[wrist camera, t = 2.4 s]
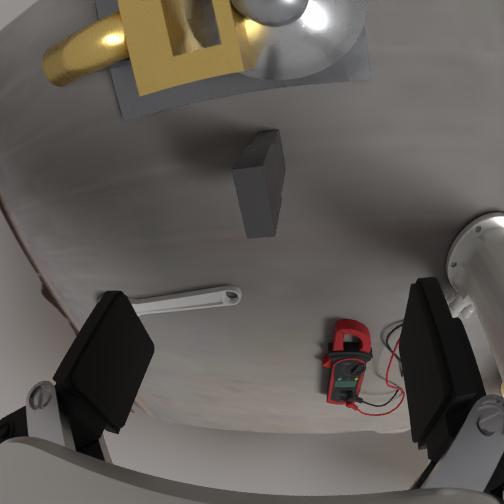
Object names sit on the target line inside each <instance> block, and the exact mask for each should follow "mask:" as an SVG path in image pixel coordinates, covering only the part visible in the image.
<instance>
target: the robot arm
mask: <svg viewBox="0 0 504 504" xmlns="http://www.w3.org/2000/svg"><path fill="white" fill-rule="evenodd" d="M446 272H447V276H448V279H449V281H450V283H451V285H452V287H453V288H454V289H455V290H456V291H457V292H456V294H455V299H454V301H453V302H452V303H450V304H449V305H448V304H447V302H446V299H445V297H444V295H443V292H442V290H441V287H440V285H439V283H438V280H437V279H436V277H428V278H418V279H417V281H416V283H415V284H411V287H410V292H409V298H408V303H407V308H406V313H405V317H404V322H403V326H402V331H401V335H400V339H399V353H400V358H401V364H402V370H403V375H404V381H405V388H406V394H407V401H408V409H409V416H410V425H411V433H412V440H413V442H414V443H416V442H418V449H419V450H420V449H426V448H427V450H428V458H429V459H430V461H429V462H428V464H427V465H426V466H425V468H424V469H423V471H422V472H421V474H420V475H419V476H418V478H417V479H416V480H415V482H414V483H413V485H412V486H411V487H410V488H409V490H404V491H393V492H383V493H373V494H360V495H338V496H286V495H269V494H257V493H246V492H237V491H229V490H221V489H215V488H208V487H203V486H197V485H192V484H187V483H182V482H177V481H172V480H168V479H164V478H160V477H156V476H152V475H148V474H144V473H140V472H137V471H133V470H130V469H127V468H123V467H120V466H117V465H114V464H113V463H112V460H111V458H110V455H109V452H108V449H107V446H106V443H105V440H104V436H103V431H104V429H105V430H107V431H109V432H112V433H116V434H119V431H120V428H122V427H123V426H124V425H125V423H126V420H127V417H128V415H129V412H130V410H131V407H132V405H133V402H134V400H135V397H136V395H137V392H138V390H139V387H140V385H141V382H142V380H143V378H144V375H145V373H146V370H147V368H148V365H149V363H150V361H151V358H152V356H153V353H154V344H153V342H152V340H151V338H150V337H149V335H148V333H147V331H146V330H145V328H144V326H143V324H142V323H141V321H140V319H139V317H138V315H137V314H136V312H135V310H134V308H133V306H132V304H131V302H130V301H129V299H128V297H127V296H126V295H124V293H123V292H122V291H106V292H105V293H104V294H103V296H102V297H101V299H100V300H99V302H98V303H97V305H96V306H95V308H94V309H93V311H92V313H91V314H90V316H89V317H88V319H87V320H86V322H85V324H84V325H83V327H82V329H81V330H80V332H79V333H78V335H77V337H76V338H75V340H74V342H73V343H72V345H71V347H70V348H69V350H68V352H67V354H66V355H65V357H64V359H63V360H62V362H61V364H60V366H59V367H58V369H57V371H56V373H55V375H54V377H53V380H54V381H55V382H56V385H55V386H54V385H53V384H52V382H49V381H41V382H38V383H37V384H35V385H34V386H33V387H32V388H31V390H30V391H29V393H28V395H27V398H26V406H24V407H22V408H20V409H19V410H17V411H15V412H13V413H11V414H9V415H7V416H6V417H4V418H2V419H1V420H0V504H504V397H502V396H499V395H487V396H486V392H485V389H484V385H483V382H482V378H481V375H480V372H479V369H478V366H477V363H476V359H475V356H474V353H473V351H472V348H471V345H470V342H469V339H468V336H467V334H466V331H465V328H464V326H463V323H462V321H461V320H460V319H459V318H458V317H456V316H457V315H458V314H459V313H460V311H461V310H462V309H463V307H465V308H464V309H463V310H462V312H461V314H462V316H463V317H464V318H466V319H467V318H468V317H469V316H470V315H471V314H472V313H473V311H474V310H476V313H477V315H478V317H479V320H480V322H481V324H482V327H483V329H484V332H485V334H486V337H487V339H488V342H489V344H490V347H491V350H492V353H493V355H494V358H495V361H496V364H497V367H498V370H499V372H500V375H501V378H502V381H503V383H504V213H500V212H496V213H489V214H486V215H483V216H481V217H479V218H477V219H475V220H474V221H472V222H471V223H470V224H468V225H467V226H466V227H465V228H464V229H463V230H462V231H461V232H460V233H459V235H458V236H457V237H456V239H455V240H454V242H453V244H452V246H451V248H450V250H449V253H448V256H447V261H446Z"/></svg>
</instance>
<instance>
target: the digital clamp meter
mask: <svg viewBox="0 0 504 504" xmlns="http://www.w3.org/2000/svg"><path fill="white" fill-rule="evenodd" d="M401 326H403V324H401V325H399V326H397V327H396V328H394V329H393V330H392V331H391V332H390V333H389V334H388V336H387V338H386V344H387V347H388V348H389V350H390V351H391V352H392V353H393V354H392V356H391V359H390V362H389V366H388V369H387V374H386V384H387V385H388V387H391V388H395V389H398V390H397V391H396V393H395V395H396V394H397V392H398V391H399V390H401V391H402V392H403V398H402V400H401V402H400V403H399V405H398V406H397V407H396V408H395V409H397V408H398V407H399V406H400V404H401V403H402V401H403V399H404V396H405V393H404V391H403V390H402V389H400V388H398V387H394V386H390V385H389V384H388V371H389V368H390V365H391V362H392V359H393V356H394V355H395V356H396V357H397V358H398V359H399V360H400V361H401V359H400V358H399V357H398V356H397V355H396V354H395V351H396V348H397V345H398V343H399V340H398V341H397V343H396V346H395V348H394V351H392V349H391V348H390V347H389V345H388V338H389V336H390V335H391V333H392V332H393V331H395V330H396V329H397V328H399V327H401ZM344 334H351V335H354V336H357V337H358V338H360V339H361V341H360V342H359V343H355V342H343V338H344ZM399 339H400V338H399ZM371 358H373V355H372V348H371V340H370V333H369V330H368V328H367V327H366V326H365V325H364V324H362V323H360V322H358V321H355V320H350V319H341V320H339V321H337V322H336V325H335V333H334V339H333V343H330V344H328V355H326V356H325V357H324V358H323V359H322V366H324V367H327V368H330V376H329V383H328V389H327V403H331V404H340V405H342V404H346V407H348V408H353V409H354V410H355V411H356V410H358V411H359V412H360V413H362V414H365V415H370V416H380V415H386V414H389V413H391V412H392V411H394V410H395V409H393V410H392V411H390V412H388V413H385V414H378V415H373V414H366V413H363V412H362V411H360V410H359V409H358V406H356V405H355V404H354V403H355V402H359V403H362V402H363V403H366V404H369V405H371V406H375V407H381V406H385V405H386V404H388V403H389V402H390V401H391V400H392V399H393V398H394V397H395V395H394V396H393V397H392V398H391V399H390V401H388V402H387V403H386V404H383V405H373V404H370V403H367V402H365V401H363V399H362V398H359V397H358V395H359V391H360V388H361V384H362V380H363V376H364V372H365V370H366V363H367V362H368V361H370V360H371ZM402 377H403V370H402Z"/></svg>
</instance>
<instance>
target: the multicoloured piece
mask: <svg viewBox="0 0 504 504" xmlns="http://www.w3.org/2000/svg"><path fill="white" fill-rule="evenodd" d="M95 3H96V8H97V13H98V18H99V20H98V21H96V22H94V23H92V24H90V25H88V26H86V27H84V28H83V29H81V30H79V31H77V32H75V33H74V34H72V35H70V36H68V37H67V38H65V39H63V40H62V41H60V42H58V43H57V44H55V45H53V46H52V47H50V48H49V49H48V50H47V51H46V52H45V54H44V57H43V70H44V73H45V75H46V77H47V79H48V80H49V81H50V82H51V83H52V84H54V85H56V86H59V87H63V86H66V85H68V84H70V83H72V82H74V81H76V80H78V79H80V78H82V77H84V76H86V75H88V74H91V73H93V72H98V71H103V70H108V69H110V71H111V75H112V79H113V83H114V87H115V91H116V95H117V98H118V102H119V106H120V109H121V113H122V117H123V120H124V121H128V120H131V119H134V118H137V117H141V116H144V115H148V114H151V113H155V112H159V111H162V110H166V109H170V108H174V107H178V106H182V105H186V104H191V103H195V102H200V101H204V100H209V99H214V98H219V97H224V96H229V95H235V94H240V93H246V92H252V91H259V90H266V89H273V88H280V87H289V86H297V85H307V84H318V83H332V82H349V81H372V77H371V69H370V61H369V54H368V47H367V41H366V35H365V29H364V23H365V19H366V14H367V0H95Z"/></svg>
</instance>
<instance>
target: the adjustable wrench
mask: <svg viewBox="0 0 504 504" xmlns="http://www.w3.org/2000/svg"><path fill="white" fill-rule="evenodd" d="M227 291H231V292H234V293H236V294H237V295H238V296H237V297H236V298H231V297H229V296H227V295H226V292H227ZM102 296H103V295H102ZM102 296H101V297H102ZM241 296H242V292H241V290H240V289H239V288H238V287H236V286H233V285H228V286H222V287H216V288H209V289H203V290H197V291H191V292H184V293H178V294H171V295H165V296H158V297H152V298H145V299H132V298H128V299H129V301H130V302H131V304H132V306H133V308H134V310H135V312H136V314H137V315H138V316H140V315H143V314H151V313H161V312H172V311H182V310H192V309H201V308H210V307H219V306H227V305H235V304H238V303H239V302H240V300H241ZM100 299H101V298H100ZM100 299H99V300H100ZM98 302H99V301H98Z"/></svg>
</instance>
